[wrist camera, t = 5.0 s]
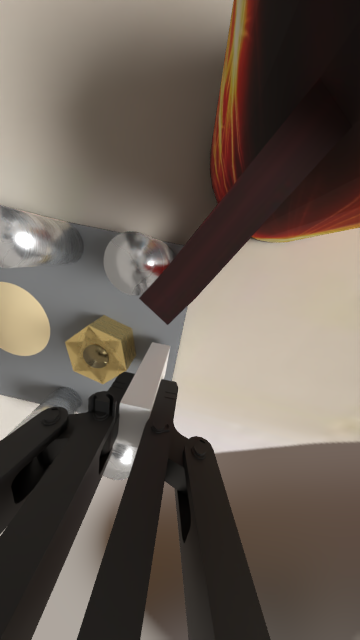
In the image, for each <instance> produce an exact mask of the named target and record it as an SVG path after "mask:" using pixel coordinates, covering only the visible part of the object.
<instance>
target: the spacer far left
mask: <svg viewBox="0 0 360 640" xmlns="http://www.w3.org/2000/svg"><path fill="white" fill-rule="evenodd" d="M81 405H82V399H81V397H80V395H79V394H78V393H77V392H76V391H75V390H73V389H71V388H69V387H60V388H57V389H56V390H55V391H54V392H53V393H52V394H51V395H50V396H49V397H48V398H47V399H46V400H44V401H43V402H42V403H41V404H40V405H39V406H38V407H37V408H36V409H35V410H34V411H33V412H32V413H31V414H30V415H28V416H27V417H26V418H25V419H24V420H23V421H22V422H21V423H20V424H19V425H18V426H17V427H16V428H15V429H14V430H13V431H11V432H10V433H9V434H8V435H10V434H11V433H12V432H14V431H15V430H16V429H18V428H19V427H21V426H22V425H23V424H25V423H26V422H28V421H29V420H30V419H32V418H33V417H35V416H36V415H37V414H39V413H40V412H42V411H44V410H45V409H48V408H51V407H63V408H65V409H66V410H67V411H68V414H75V413H76V412H77V411H78V409H79V408H80V407H81Z"/></svg>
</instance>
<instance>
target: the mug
mask: <svg viewBox="0 0 360 640" xmlns="http://www.w3.org/2000/svg"><path fill="white" fill-rule="evenodd" d="M210 174H211V181H212V188H213V191H214V194H215V197H216V200H217V203H218V205H217V206H216V207H215V208H214V210H213V211H212V212H211V213H210V214H209V216H208V217H207V218H206V219H205V221H204V222H203V223H202V224H201V226H200V227H199V228H198V229H197V231H196V232H195V233H194V234H193V236H192V237H191V238H190V239H189V241H188V242H187V243H186V244H185V245H184V247H183V248H182V249H181V250H180V252H179V253H178V254H177V255H176V257H175V258H174V259H173V260H172V262H171V263H170V264H169V265H168V267H167V268H166V269H165V270H164V271H163V272H162V273H161V275H160V276H159V277H158V278H157V279H156V280H155V281H154V282H153V283H152V284H151V286H150V287H149V288H148V289H147V290H146V291H145V292H144V293H143V294H142V295H141V297H140V298H139V299H140V300H141V301H142V302H143V303H144V304H145V305H146V306H147V307H149V308H150V309H151V310H152V311H153V312H154V313H155V314H156V315H157V316H158V317H159V318H160V319H161V320H163V321H164V322H165V323H166V324H167V325H168V324H170V323H171V322H172V321H173V320H174V319H175V318H176V317H177V316H178V315H179V314H180V313H181V312H182V311H183V310H184V309H185V308H186V307H187V306H188V305H189V304H190V303H191V302H192V301H193V300H194V299H195V298H196V297H197V296H198V295H199V294H200V293H201V291H202V290H203V289H204V288H205V287H206V286H207V285H208V284H209V283H210V282H211V281H212V279H213V278H214V277H215V276H216V275H217V274H218V273H219V272H220V271H221V270H222V268H223V267H224V266H225V265H226V264H227V263H228V262H229V261H230V260H231V259H232V258H233V256H234V255H235V254H236V253H237V252H238V251H239V250H240V249H241V248H242V247H243V245H244V244H245V243H246V242H247V241H248V240H249V239H250V238H251V237H252V238H255V239H257V240H261V241H266V242H289V241H294V240H299V239H304V238H309V237H314V236H319V235H324V234H329V233H334V232H339V231H344V230H349V229H354V228H359V227H360V0H234V2H233V9H232V15H231V22H230V28H229V35H228V41H227V48H226V54H225V61H224V67H223V74H222V80H221V87H220V93H219V100H218V106H217V113H216V119H215V126H214V133H213V139H212V146H211V153H210Z"/></svg>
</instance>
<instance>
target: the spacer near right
mask: <svg viewBox="0 0 360 640" xmlns="http://www.w3.org/2000/svg"><path fill="white" fill-rule="evenodd" d="M174 258H175V255H174V253H173V251H172V249H171V248H170V247H169V246H168V245H167V244H166V243H164V242H162V241H160V240H157V239H154V238H152V237H149V236H147V235H144V234H141V233H138V232H124V233H121V234H119V235H117V236H116V237H114V238H113V239H112V240H111V241H110V242H109V244H108V246H107V247H106V250H105V253H104V268H105V272H106V275H107V277H108V279H109V280H110V282H111V283H112V284H113V285H114V286H115V287H116V288H117V289H118V290H120V291H121V292H123V293H126V294H129V295H134V296H138V295H142V294H143V293H144V292H145V291H146V290H147V289H148V288H149V287H150V286H151V284H152V283H153V282H154V281H155V280H156V279H157V278H158V277H159V276H160V275H161V273H162V272H163V271H164V270H165V269H166V268H167V267H168V265H169V264H170V263H171V262H172V260H173V259H174Z"/></svg>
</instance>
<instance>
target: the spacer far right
mask: <svg viewBox="0 0 360 640" xmlns="http://www.w3.org/2000/svg"><path fill="white" fill-rule="evenodd" d="M116 441H117V438H116V440H115V442H114V444H113V450H112V455H111V457H110V459H109V461H108V464H107V466H106V468H105V471H104V473H103V476H105V477H107V478H110V479H113V480H123V479H126V478H128V477H129V474H130V471H131V468H132V465H133V462H134V459H135V455H136V452H137V449H138V448H136V447H132V446H128V445H123V444H119V443H116Z"/></svg>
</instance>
